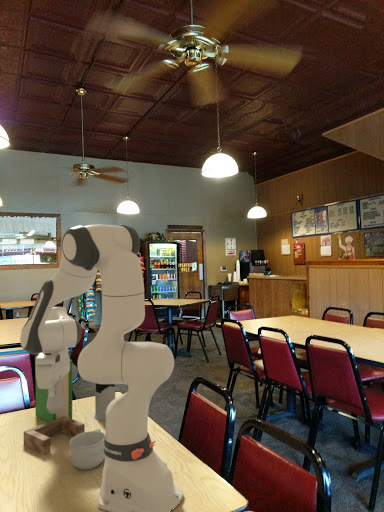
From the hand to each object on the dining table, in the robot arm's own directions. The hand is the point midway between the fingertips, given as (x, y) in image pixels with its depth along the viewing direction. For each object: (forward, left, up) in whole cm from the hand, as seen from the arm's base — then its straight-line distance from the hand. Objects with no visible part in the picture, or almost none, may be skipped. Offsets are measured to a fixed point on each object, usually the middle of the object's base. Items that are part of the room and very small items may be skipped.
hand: (55, 393), depth 129 cm
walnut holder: (0, 0, -16) cm, 16 cm away
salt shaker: (0, 0, -6) cm, 6 cm away
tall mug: (+5, -25, -16) cm, 30 cm away
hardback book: (+18, -11, -16) cm, 26 cm away
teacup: (-22, +2, -16) cm, 27 cm away
